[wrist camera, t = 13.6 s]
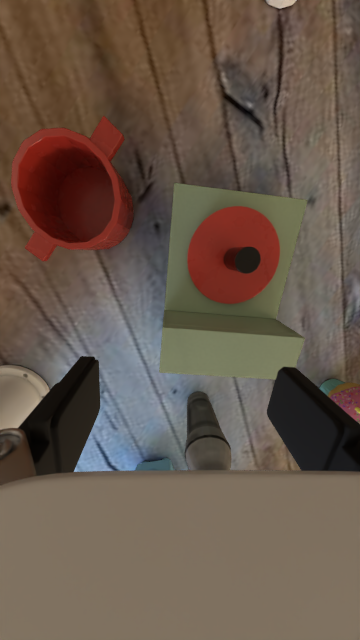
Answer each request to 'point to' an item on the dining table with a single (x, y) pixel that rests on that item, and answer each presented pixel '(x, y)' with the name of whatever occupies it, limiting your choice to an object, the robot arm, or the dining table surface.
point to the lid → (233, 254)
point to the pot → (72, 190)
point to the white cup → (280, 3)
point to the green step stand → (223, 330)
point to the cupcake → (344, 396)
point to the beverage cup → (205, 437)
